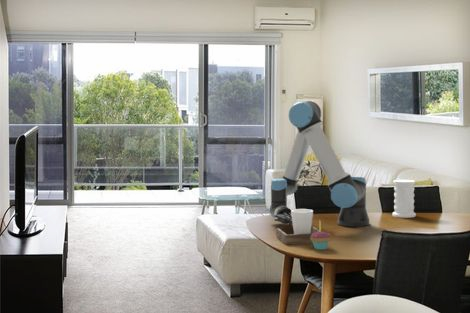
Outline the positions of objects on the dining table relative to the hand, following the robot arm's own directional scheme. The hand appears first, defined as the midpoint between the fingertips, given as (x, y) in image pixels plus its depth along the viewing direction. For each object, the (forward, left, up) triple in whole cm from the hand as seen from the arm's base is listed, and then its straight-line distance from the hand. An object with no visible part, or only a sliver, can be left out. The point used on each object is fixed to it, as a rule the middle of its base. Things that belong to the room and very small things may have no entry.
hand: (297, 223), depth 326 cm
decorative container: (-44, -66, -7) cm, 80 cm away
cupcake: (-13, +19, -7) cm, 24 cm away
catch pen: (-2, +3, -6) cm, 7 cm away
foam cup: (-3, +4, -7) cm, 8 cm away
